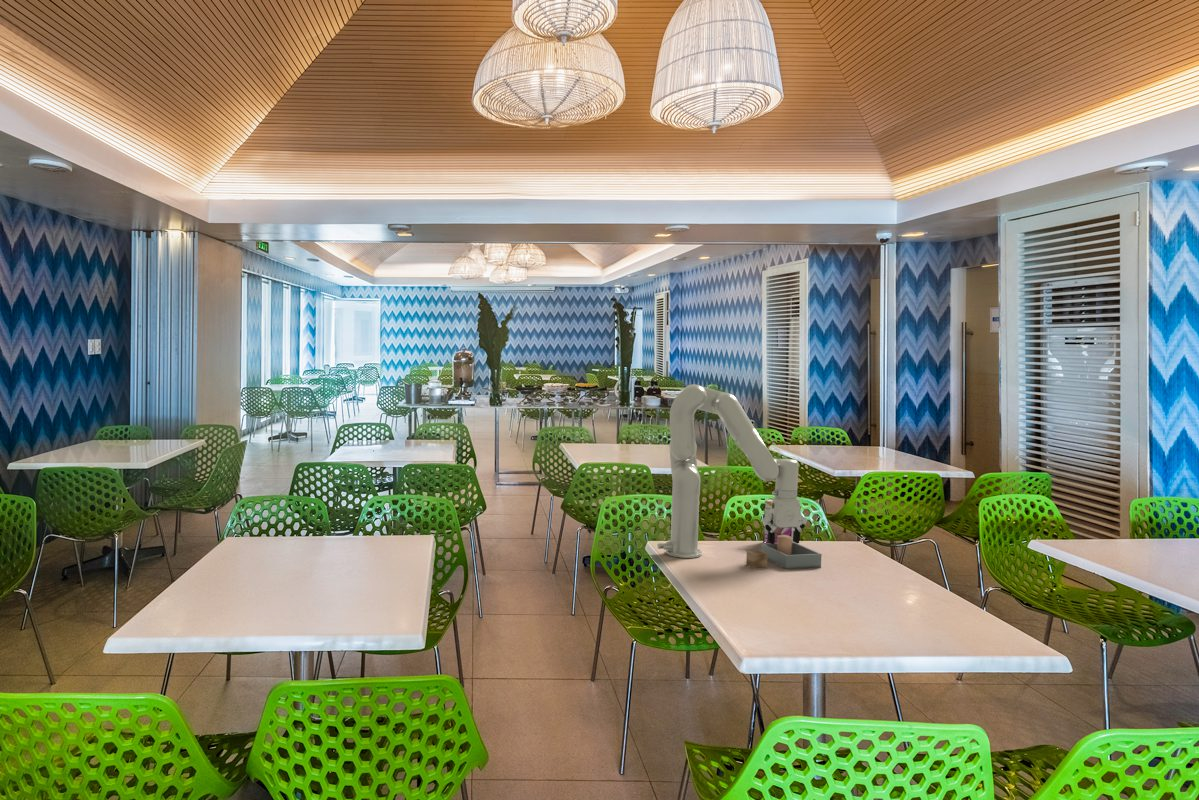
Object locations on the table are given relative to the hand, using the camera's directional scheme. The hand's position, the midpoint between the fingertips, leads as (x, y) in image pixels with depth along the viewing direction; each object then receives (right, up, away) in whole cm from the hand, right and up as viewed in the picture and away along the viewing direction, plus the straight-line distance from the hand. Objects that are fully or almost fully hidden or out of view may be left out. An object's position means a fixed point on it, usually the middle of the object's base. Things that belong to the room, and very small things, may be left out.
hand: (783, 542), depth 265 cm
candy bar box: (+3, -5, +21) cm, 22 cm away
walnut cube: (-12, -6, -12) cm, 18 cm away
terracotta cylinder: (0, -5, 0) cm, 5 cm away
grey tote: (+1, -6, -4) cm, 7 cm away
